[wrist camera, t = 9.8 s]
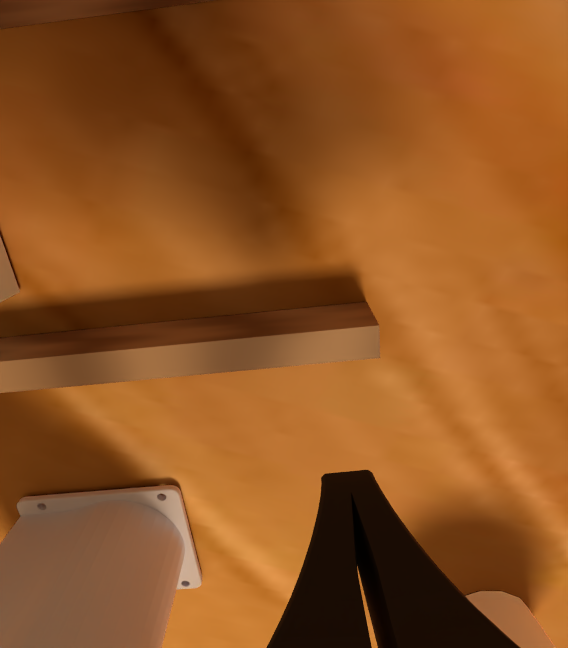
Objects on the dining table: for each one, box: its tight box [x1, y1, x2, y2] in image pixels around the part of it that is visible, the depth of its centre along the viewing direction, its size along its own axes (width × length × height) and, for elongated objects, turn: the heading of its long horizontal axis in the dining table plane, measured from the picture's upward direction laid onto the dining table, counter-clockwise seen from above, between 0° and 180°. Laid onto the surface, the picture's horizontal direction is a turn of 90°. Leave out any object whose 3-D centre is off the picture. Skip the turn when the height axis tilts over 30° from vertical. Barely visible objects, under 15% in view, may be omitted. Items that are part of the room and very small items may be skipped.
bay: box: [0, 0, 380, 393], centre depth 17 cm, size 26×16×4 cm, turn 96°
